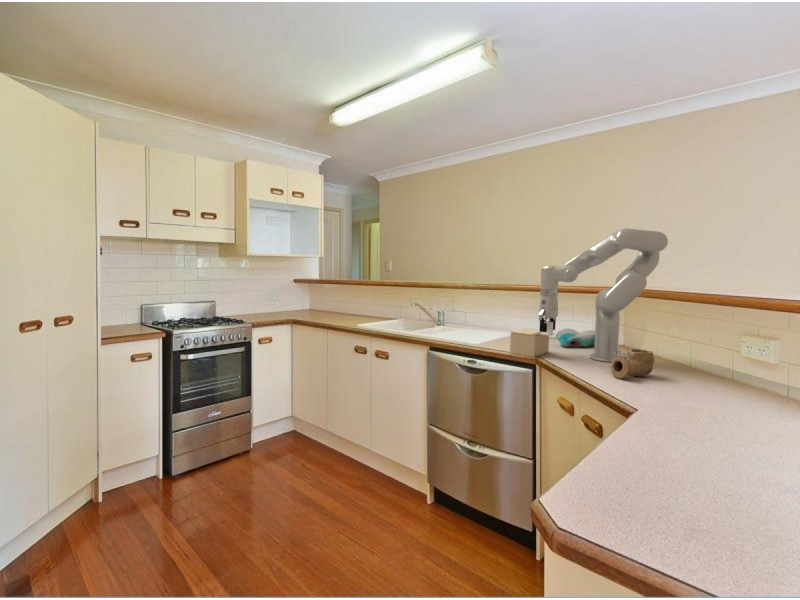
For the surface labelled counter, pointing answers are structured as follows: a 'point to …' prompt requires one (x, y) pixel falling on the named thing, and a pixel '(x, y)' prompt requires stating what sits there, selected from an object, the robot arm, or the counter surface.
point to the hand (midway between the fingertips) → (547, 330)
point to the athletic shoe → (576, 338)
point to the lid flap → (536, 331)
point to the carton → (529, 344)
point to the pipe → (633, 364)
